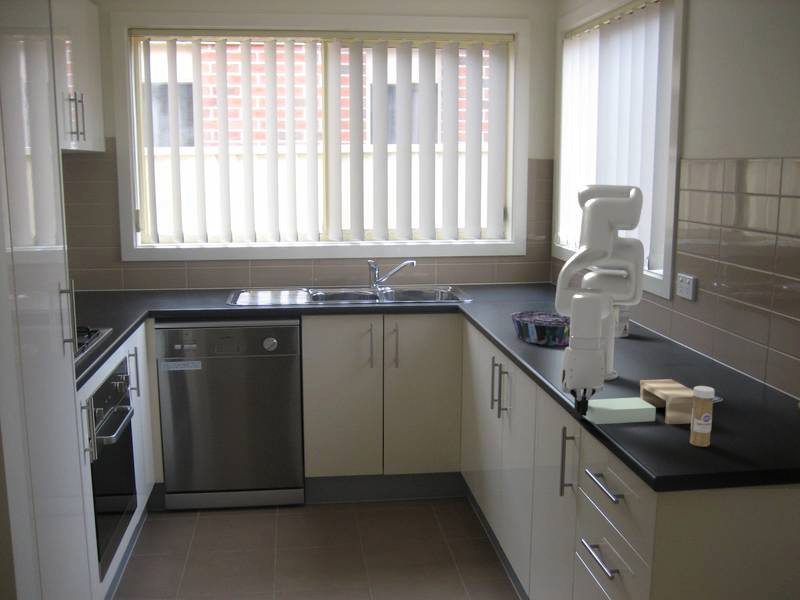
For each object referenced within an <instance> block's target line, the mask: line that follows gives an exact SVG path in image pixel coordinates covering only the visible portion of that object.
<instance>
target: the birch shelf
mask: <svg viewBox="0 0 800 600" xmlns="http://www.w3.org/2000/svg"><path fill="white" fill-rule="evenodd" d="M639 387H640V389H639V390H640V391H639V392H640V393H639V398H641V399H642V400H644V401H646V402H647V403H649V404H651V405H652V406H654V407H656V409H657V408H665V418H664V423H665V424H667V425H680V424H681V425H683V424H691V420H692V408H693V400H694V397H693V396H694V395H693V390H694V389H693V390H691V389H692V388H690V389H689V387H687V386H685V385H683V384H682V383H681V382H678V381H676V380H675V379H672V378H667V379H666V378H665V379H644V380H643V379H640V381H639Z"/></svg>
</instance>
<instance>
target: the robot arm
mask: <svg viewBox="0 0 800 600" xmlns="http://www.w3.org/2000/svg"><path fill="white" fill-rule="evenodd" d="M577 201H578V204H579V207H580V209H581V210H582V216H581V226H580V234H579V235H580V236H579V241H578V242H579V245H578V250H577V252H576V253H575V254H573V255H572V256H571V257H570V258H569V259H568V260H567V261H566V262H565V263H564V265H563V266H562V268H561V270H560V271H559V274H558V277H557V283H556V290H555V291H556V292H555V299H554V300H555V301H554V303H555V304H554V305H555V306H554V307H555V311H556V312H558V313H559V314H560V315H563V316H569V317H571V319H570V339H569V345H568V346H566V347H565V348H564V353H563V357H562V362H561V369H560V375H559V376H560V380H559V381H560V383H561V390H560V391H561V392H563V393H565V394H568V395H571V396H572V397H573V399H574V406H573V407H574V408H573V410H574V412H575V414H577V415H578V416H579V417H582V416H584V417H585V416H586V412H587V411H588V400H592V399H591V398H592V396H594V395H595V394H596V393H600V392H603V390H604V387H603V386H604V383H605V381H611V380H615V379H617V378H618V372H617V371H616V370H614V368H613V366H614V351H615V338H616V337H615V317H614V314H613V313H612V309H613V304H617V305H630V306H636V305H638V304H639V303H640V302H641V301H642V297H643V289H644V274H645V273H644V272H645V248H644V244H643V242H642V241H641V240H640V239H638V238H636V237H625V236H624V237H623V236H622V237H620V236H619V231H635V229H636V228H637V227H638V225H639V223H640V219H641V215H642V210H643V204H644V203H643V202H644V195H643V192H642V190H641V188H640V187H638V186H635V185H623V184H622V185H621V184H619V185H618V184H617V185H616V184H615V185H614V184H585V185H583V186H581V187H579V189H578V192H577ZM590 267H591V268H593V269H598V270H594V271H590V272H587V273H586V274H584V276H583V277H582V280H581V287H572V286H571V287H569V284H570V280H571V279H572V277H573V276H574V275H575V274H577V273H578V272H580V271H583V270H584V269H586V268H590ZM604 270H608V271H604ZM610 270H611V271H610ZM617 271H625V272H617Z"/></svg>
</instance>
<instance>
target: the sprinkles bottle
mask: <svg viewBox="0 0 800 600" xmlns="http://www.w3.org/2000/svg"><path fill="white" fill-rule="evenodd" d="M693 390H694V391H693V395H694V396H693V397H694V400H693V408H692V420H691V423H690V436H689V443H690V444H691V445H693V446H696V447H709V446H710V445H711V431H712V424H713V423H712V422H713V407H714V406H713V404H714V403H713V399H714V396H715V391H716V390H715V388H713V387H711V386H706V385H697V386H694V387H693Z"/></svg>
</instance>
